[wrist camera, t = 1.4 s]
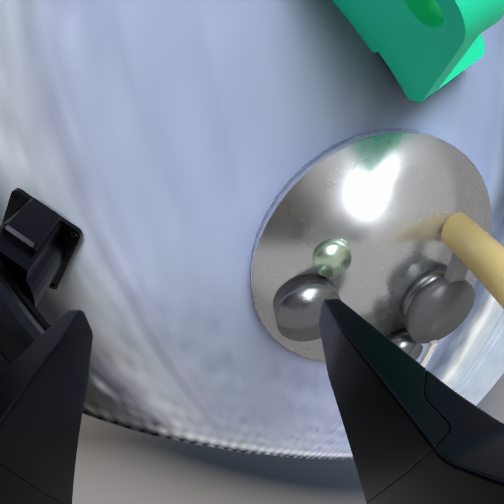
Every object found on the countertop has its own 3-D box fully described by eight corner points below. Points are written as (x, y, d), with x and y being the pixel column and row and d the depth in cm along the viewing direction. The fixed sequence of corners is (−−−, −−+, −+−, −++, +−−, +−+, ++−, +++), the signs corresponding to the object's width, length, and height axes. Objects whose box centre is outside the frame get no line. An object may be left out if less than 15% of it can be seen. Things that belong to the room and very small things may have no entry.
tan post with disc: (431, 349, 30) (473, 428, 21) (377, 360, 29) (415, 452, 20) (487, 212, 21) (574, 292, 12) (427, 212, 21) (524, 311, 11)
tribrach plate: (359, 375, 33) (368, 397, 30) (191, 290, 24) (189, 319, 21) (506, 242, 25) (524, 259, 22) (399, 63, 16) (426, 66, 14)
